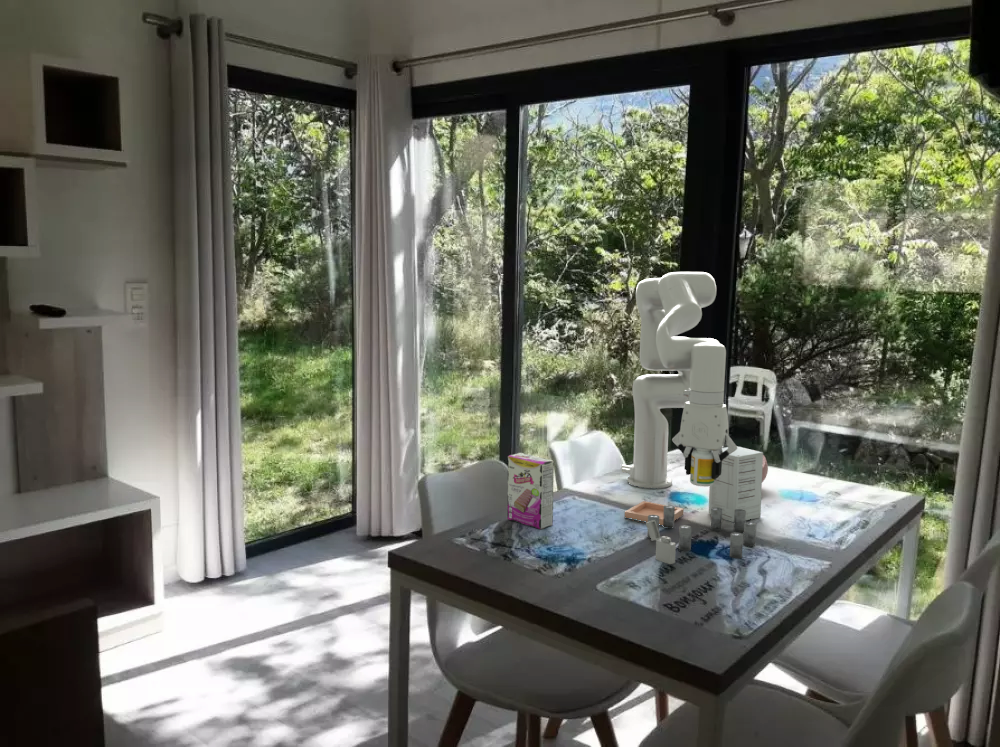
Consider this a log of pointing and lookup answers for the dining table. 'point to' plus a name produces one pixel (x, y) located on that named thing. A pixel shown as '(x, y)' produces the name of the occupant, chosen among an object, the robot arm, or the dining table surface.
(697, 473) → the supplement bottle
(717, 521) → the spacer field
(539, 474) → the candy bar box
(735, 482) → the supplement box
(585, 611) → the dining table surface
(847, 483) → the dining table surface
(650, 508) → the dish
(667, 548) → the lighter
